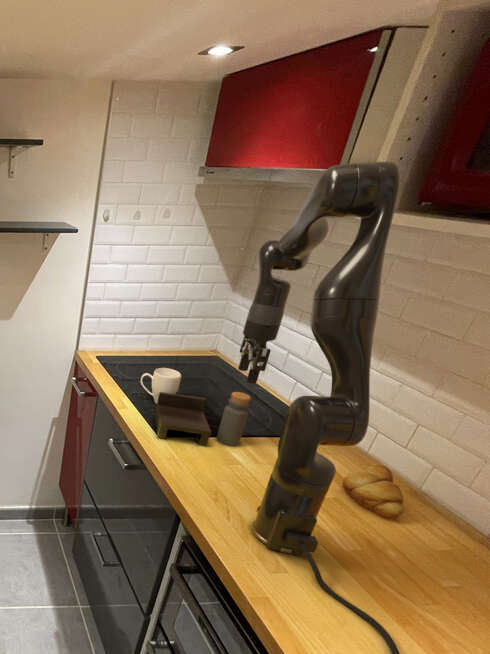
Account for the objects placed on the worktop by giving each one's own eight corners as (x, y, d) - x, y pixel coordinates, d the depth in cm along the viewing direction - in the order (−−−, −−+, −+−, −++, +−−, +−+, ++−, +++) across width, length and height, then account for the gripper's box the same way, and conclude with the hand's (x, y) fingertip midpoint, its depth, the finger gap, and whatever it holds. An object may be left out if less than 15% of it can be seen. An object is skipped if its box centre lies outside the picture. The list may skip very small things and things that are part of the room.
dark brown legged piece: (207, 447, 127) (215, 419, 124) (158, 439, 131) (164, 412, 127) (198, 424, 139) (205, 398, 136) (153, 417, 143) (159, 391, 139)
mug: (173, 400, 155) (180, 370, 150) (175, 410, 148) (182, 379, 143) (137, 394, 159) (142, 364, 154) (136, 403, 152) (142, 373, 147)
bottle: (242, 447, 127) (256, 401, 122) (220, 445, 129) (233, 398, 123) (234, 437, 133) (248, 391, 127) (213, 434, 134) (226, 389, 128)
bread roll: (411, 525, 99) (427, 496, 96) (361, 518, 101) (375, 489, 98) (375, 489, 111) (388, 462, 108) (331, 483, 113) (342, 456, 110)
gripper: (240, 311, 123) (225, 365, 130) (255, 326, 111) (238, 384, 117) (271, 314, 121) (254, 368, 128) (290, 329, 109) (270, 388, 115)
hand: (246, 376), depth 123 cm, fingers open, 8 cm apart
